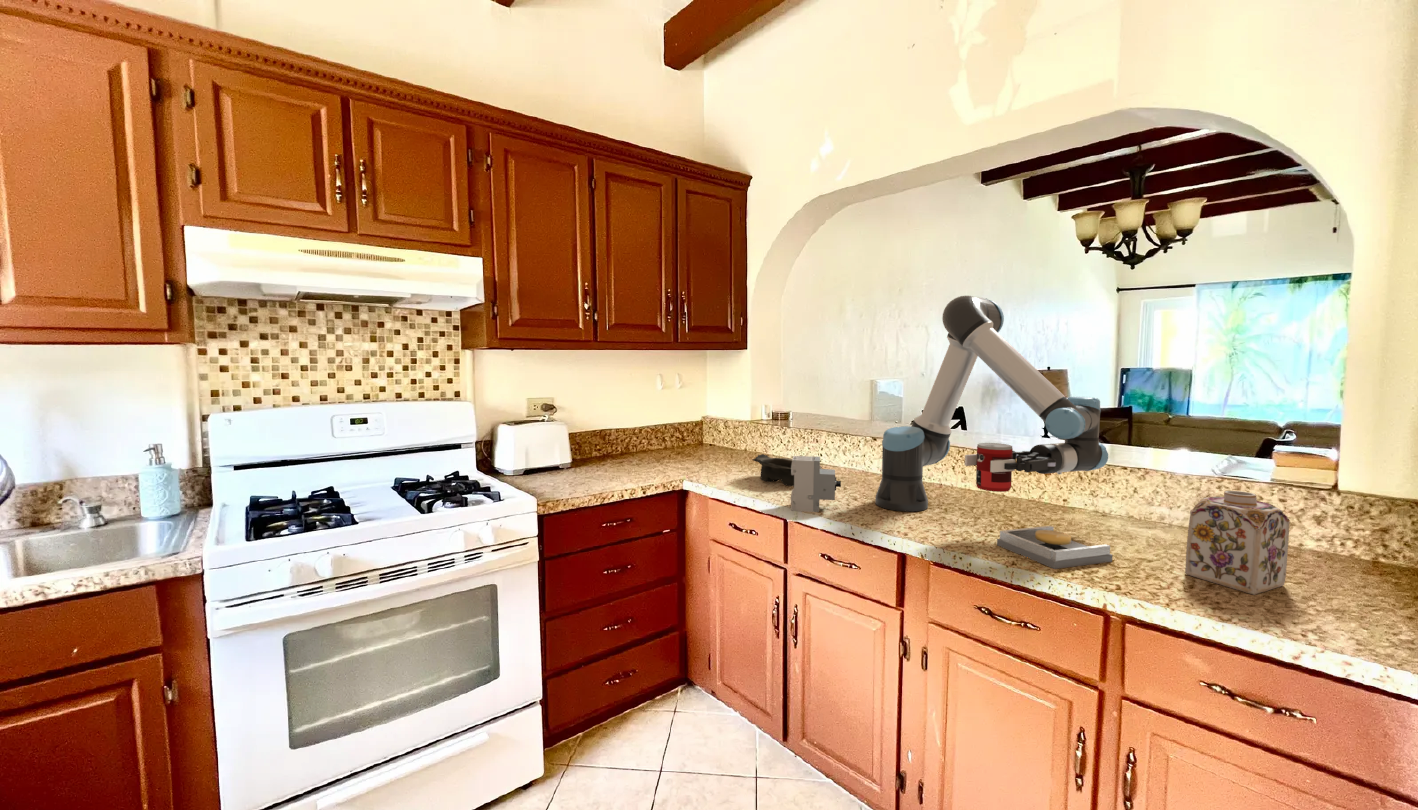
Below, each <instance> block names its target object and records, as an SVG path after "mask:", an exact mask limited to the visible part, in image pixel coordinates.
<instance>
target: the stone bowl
mask: <svg viewBox="0 0 1418 810" xmlns="http://www.w3.org/2000/svg"><path fill="white" fill-rule="evenodd" d="M792 459H793V458H789V457H770V456H768V454H767V455H766V454H758V455H757V456H756V457H755V458H753V459H751V461H754V462H756V463H758V464H760V465H761V468H760V479H761V481H763V482H769V483H773V482H774V483H775V482H779V481H781V482H782V484H783V485H784V486H789V487H794V475H791V465H792ZM822 467H823V466H821V465H820V469H823V468H822Z"/></svg>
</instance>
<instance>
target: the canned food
mask: <svg viewBox="0 0 1418 810" xmlns="http://www.w3.org/2000/svg"><path fill="white" fill-rule="evenodd" d="M1012 451H1014V450H1013V445H1010V444H1007V443H999V442H978V443H977V446H976V454H977V465H975V466H976V470H975V471H976V473H975V474H976V475H975V478H976V479H975V485H976V487H977V489H979V490H983V491H988V492H996V493H998V492H999V493H1002V492H1003V493H1005V492H1009V491H1011V488H1012V476H1013V475H1012V474H1013V471H1005V472H990V467H991V461H994V460H1009V459H1012Z"/></svg>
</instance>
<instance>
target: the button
mask: <svg viewBox="0 0 1418 810" xmlns="http://www.w3.org/2000/svg"><path fill="white" fill-rule="evenodd" d="M1035 538H1036V539H1037V540H1039V541H1042V542H1045V545H1047V546H1051V547H1060V545H1067V544H1070V543H1071V541H1072V536H1071V535H1070V534H1068V533H1065V532H1062V531H1057V530H1053V531H1052V530H1038V531H1036V532H1035Z"/></svg>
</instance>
